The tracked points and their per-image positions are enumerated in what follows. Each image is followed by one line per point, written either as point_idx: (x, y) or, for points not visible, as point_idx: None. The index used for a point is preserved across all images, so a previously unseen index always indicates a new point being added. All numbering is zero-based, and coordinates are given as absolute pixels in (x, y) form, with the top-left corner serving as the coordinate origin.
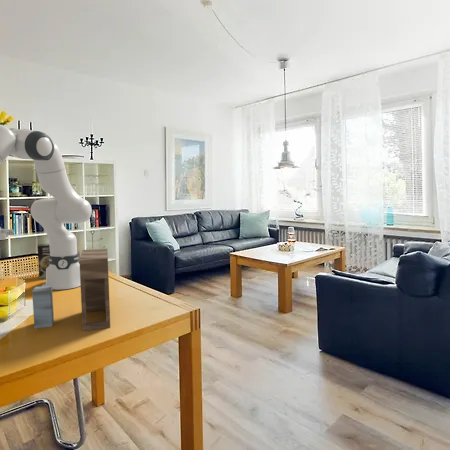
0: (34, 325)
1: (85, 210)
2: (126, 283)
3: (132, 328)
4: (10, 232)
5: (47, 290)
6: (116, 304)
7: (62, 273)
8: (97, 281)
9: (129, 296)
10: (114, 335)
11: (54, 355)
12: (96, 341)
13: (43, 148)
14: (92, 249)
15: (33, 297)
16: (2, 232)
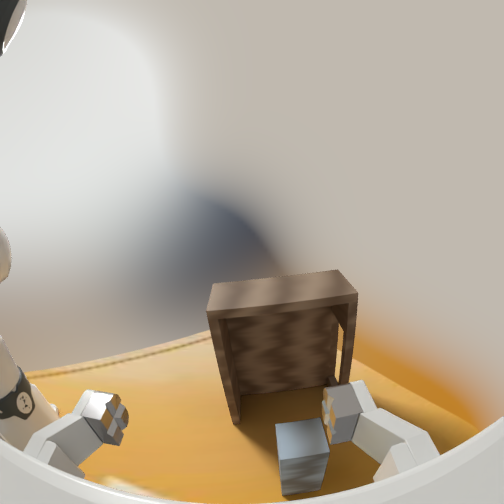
0: (320, 487)
1: (8, 245)
2: (100, 364)
3: (338, 355)
4: (115, 413)
5: (321, 422)
6: (214, 383)
7: (36, 421)
8: (231, 360)
9: (177, 367)
10: (363, 368)
11: (433, 408)
12: (384, 381)
13: (20, 18)
14: (212, 298)
15: (327, 458)
16: (65, 454)
